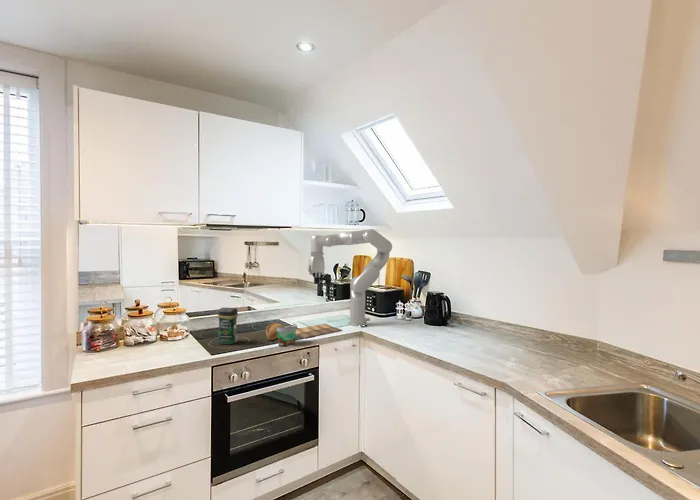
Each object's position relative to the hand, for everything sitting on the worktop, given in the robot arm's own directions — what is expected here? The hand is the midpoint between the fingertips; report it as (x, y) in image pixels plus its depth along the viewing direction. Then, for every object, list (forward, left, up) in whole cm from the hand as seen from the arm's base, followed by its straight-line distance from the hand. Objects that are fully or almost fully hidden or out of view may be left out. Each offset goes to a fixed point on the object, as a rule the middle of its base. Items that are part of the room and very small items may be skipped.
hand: (316, 283), depth 227 cm
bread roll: (+34, +8, -28) cm, 44 cm away
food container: (+35, +25, -27) cm, 51 cm away
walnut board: (+10, +18, -27) cm, 34 cm away
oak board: (+10, +9, -27) cm, 30 cm away
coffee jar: (+58, +1, -27) cm, 64 cm away
